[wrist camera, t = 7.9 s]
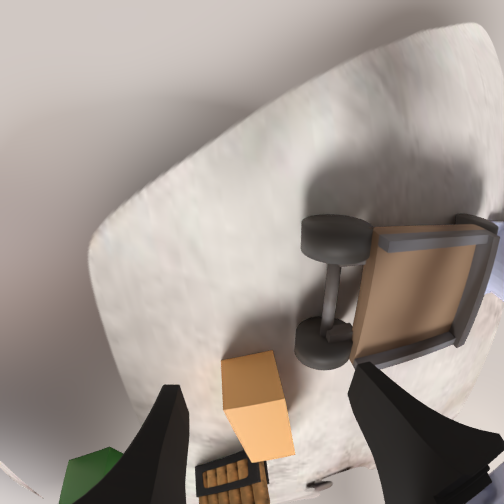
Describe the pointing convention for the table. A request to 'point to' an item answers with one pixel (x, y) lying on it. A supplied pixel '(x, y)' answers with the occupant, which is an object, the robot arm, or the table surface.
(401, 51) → the table surface
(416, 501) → the robot arm
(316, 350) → the dolly
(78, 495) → the hardback book
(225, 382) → the block
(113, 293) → the table surface
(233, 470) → the ammunition clip
